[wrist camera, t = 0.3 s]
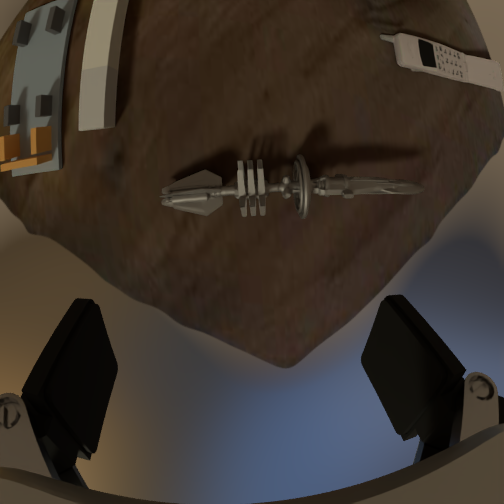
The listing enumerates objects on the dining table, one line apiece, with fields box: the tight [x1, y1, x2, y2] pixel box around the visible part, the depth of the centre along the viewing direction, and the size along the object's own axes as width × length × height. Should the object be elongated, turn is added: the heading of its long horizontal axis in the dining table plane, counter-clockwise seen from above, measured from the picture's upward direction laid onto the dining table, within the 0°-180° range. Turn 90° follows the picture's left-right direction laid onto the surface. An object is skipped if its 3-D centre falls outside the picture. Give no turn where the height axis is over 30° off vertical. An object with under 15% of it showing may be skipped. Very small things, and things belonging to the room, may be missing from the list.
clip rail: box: [0, 0, 77, 177], centre depth 24 cm, size 28×10×5 cm, turn 176°
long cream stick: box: [79, 0, 129, 131], centre depth 25 cm, size 22×4×4 cm, turn 176°
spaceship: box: [160, 154, 424, 219], centre depth 34 cm, size 8×35×8 cm
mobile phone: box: [380, 33, 504, 91], centre depth 28 cm, size 6×6×25 cm
